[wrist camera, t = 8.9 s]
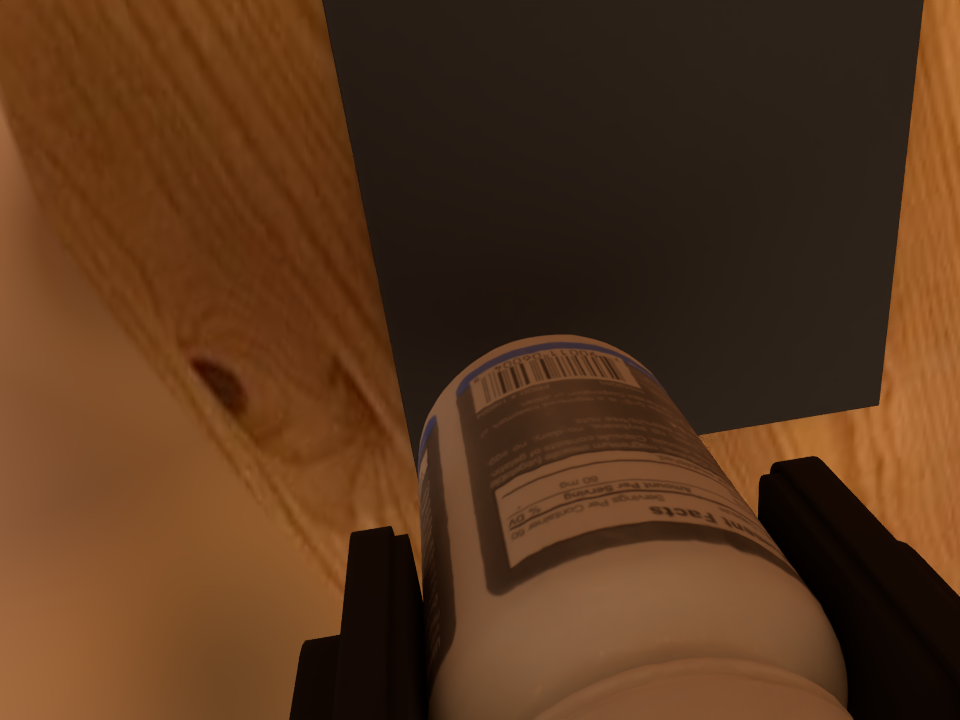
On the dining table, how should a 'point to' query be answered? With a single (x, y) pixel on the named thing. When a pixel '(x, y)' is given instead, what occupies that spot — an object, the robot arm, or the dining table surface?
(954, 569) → the dining table surface
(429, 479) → the pill bottle
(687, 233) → the slate mat
